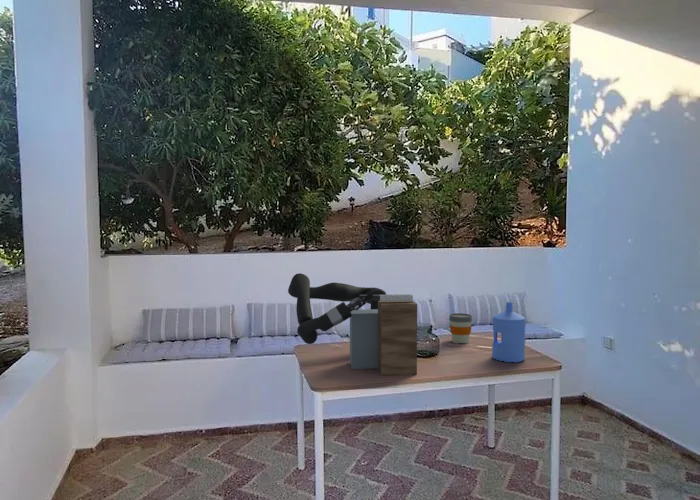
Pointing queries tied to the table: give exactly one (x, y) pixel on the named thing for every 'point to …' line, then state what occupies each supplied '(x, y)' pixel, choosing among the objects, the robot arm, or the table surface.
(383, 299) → the lever bar
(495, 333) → the water jug
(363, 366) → the grey rectangular box
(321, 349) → the table surface
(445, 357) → the table surface
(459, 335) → the reusable coffee cup
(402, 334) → the upright wooden block
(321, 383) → the table surface
